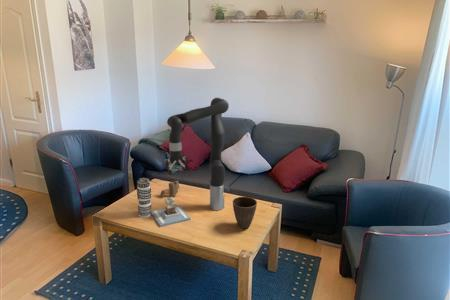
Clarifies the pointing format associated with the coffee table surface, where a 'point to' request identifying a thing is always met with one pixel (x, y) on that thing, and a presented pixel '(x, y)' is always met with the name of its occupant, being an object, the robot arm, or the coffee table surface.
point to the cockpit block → (170, 202)
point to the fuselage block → (170, 211)
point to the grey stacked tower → (144, 197)
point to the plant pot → (244, 210)
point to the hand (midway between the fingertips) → (176, 173)
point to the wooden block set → (171, 189)
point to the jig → (170, 216)
